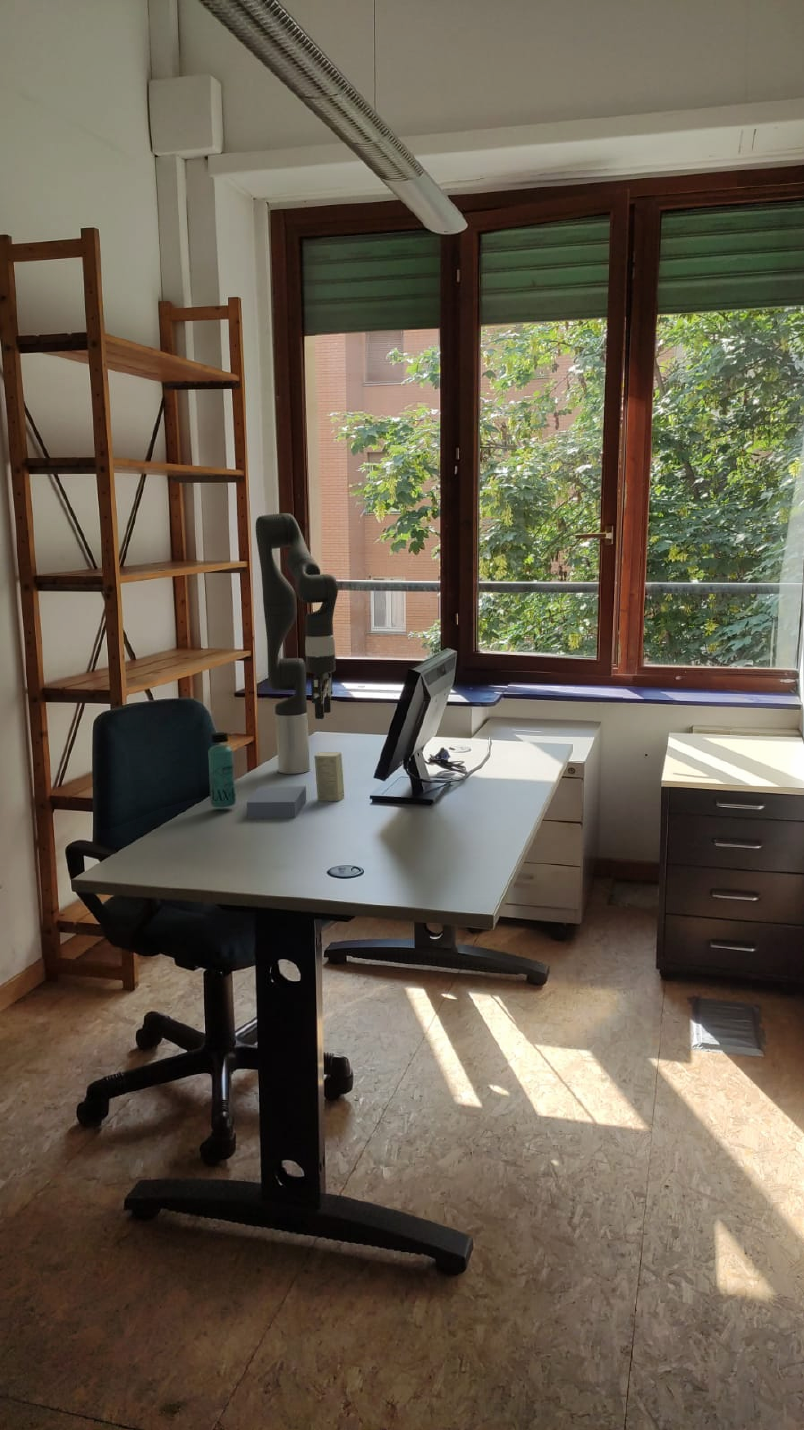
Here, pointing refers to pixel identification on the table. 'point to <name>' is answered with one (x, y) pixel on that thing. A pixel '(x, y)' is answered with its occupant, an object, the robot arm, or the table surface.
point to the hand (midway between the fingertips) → (323, 715)
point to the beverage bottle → (221, 772)
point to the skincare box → (329, 776)
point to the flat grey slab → (276, 802)
